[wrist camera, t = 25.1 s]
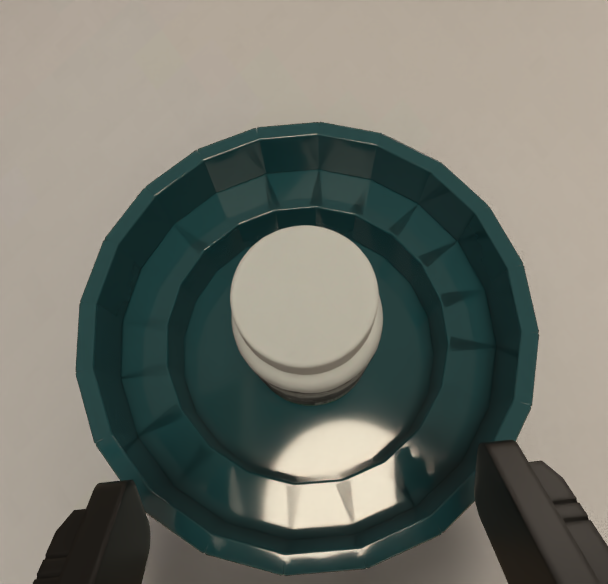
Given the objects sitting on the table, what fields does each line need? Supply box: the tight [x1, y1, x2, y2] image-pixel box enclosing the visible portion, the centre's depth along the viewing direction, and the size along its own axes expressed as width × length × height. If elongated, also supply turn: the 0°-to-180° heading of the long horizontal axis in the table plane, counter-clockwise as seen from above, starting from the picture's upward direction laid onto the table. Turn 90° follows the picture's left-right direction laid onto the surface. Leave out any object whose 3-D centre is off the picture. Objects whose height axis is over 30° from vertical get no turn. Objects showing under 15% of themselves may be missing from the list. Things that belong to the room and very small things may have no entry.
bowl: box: [76, 122, 539, 576], centre depth 19 cm, size 15×15×6 cm
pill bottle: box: [230, 225, 383, 406], centre depth 17 cm, size 5×5×8 cm
